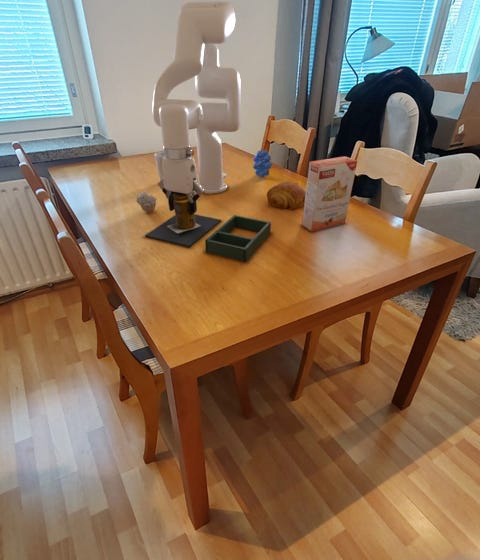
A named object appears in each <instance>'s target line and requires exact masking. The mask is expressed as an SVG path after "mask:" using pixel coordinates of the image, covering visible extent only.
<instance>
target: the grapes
mask: <svg viewBox="0 0 480 560" xmlns="http://www.w3.org/2000/svg"><path fill="white" fill-rule="evenodd" d="M271 159H272V156H271V155H270V154H268V151H267V150H266V149H263V150H258V151H257V153H256V155H255V156H254V157H253V162H254V163H253V165H252V168H253V170H255V172H254V173H255V175H256V176H259V178H261V179H264V178H265V176H268V175H270V169H271V168H272V167H273V166H272V164H273V163H271Z"/></svg>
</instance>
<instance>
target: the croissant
mask: <svg viewBox="0 0 480 560" xmlns="http://www.w3.org/2000/svg"><path fill="white" fill-rule="evenodd" d="M305 195H306V189H305V188H303V187H302V186H300V185H299V184H298V183H296V182H292V181H283V182H279V183H277V184H275V185H274V186H273V187H271V188H269V189H268V190H267V192H266V197H267V202H268V204H269V205H270V206H273V207H274V208H275V207H276V208H281V209H282V208H283V209H288V210H294V209H297V208H300V207H302V206H304V203H305Z"/></svg>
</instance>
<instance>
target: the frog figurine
mask: <svg viewBox="0 0 480 560" xmlns="http://www.w3.org/2000/svg"><path fill="white" fill-rule="evenodd" d="M135 200H136V203H137V204H138V205H139V206H140V208H141V210H142V211H143V212H144V213H151V212H153V211H155V208H156V205H157V198H156V197H155V196H153V195H152V194H149V193H147V192H140V193H138V195H137V196H136V197H135Z"/></svg>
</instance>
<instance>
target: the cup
mask: <svg viewBox="0 0 480 560" xmlns="http://www.w3.org/2000/svg"><path fill="white" fill-rule="evenodd" d="M163 157H164V150H163V151H158V152H155V153H154V159H155V163H156V169H157V174H158V178H159V182H160V181H161V180H162V179H163V173H162V164H163Z"/></svg>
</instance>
